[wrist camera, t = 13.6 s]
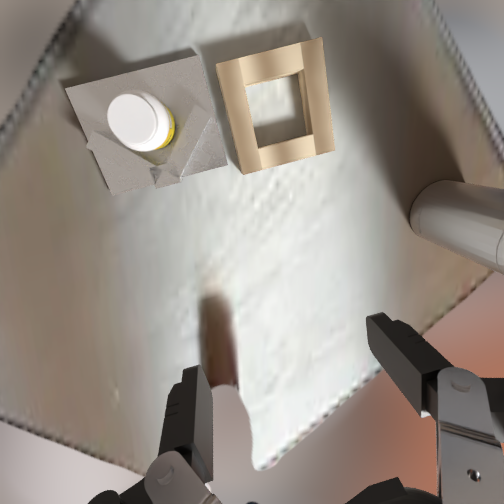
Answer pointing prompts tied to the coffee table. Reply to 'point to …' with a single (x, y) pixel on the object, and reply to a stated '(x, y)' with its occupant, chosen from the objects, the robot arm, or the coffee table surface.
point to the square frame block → (312, 95)
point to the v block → (186, 119)
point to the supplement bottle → (141, 120)
